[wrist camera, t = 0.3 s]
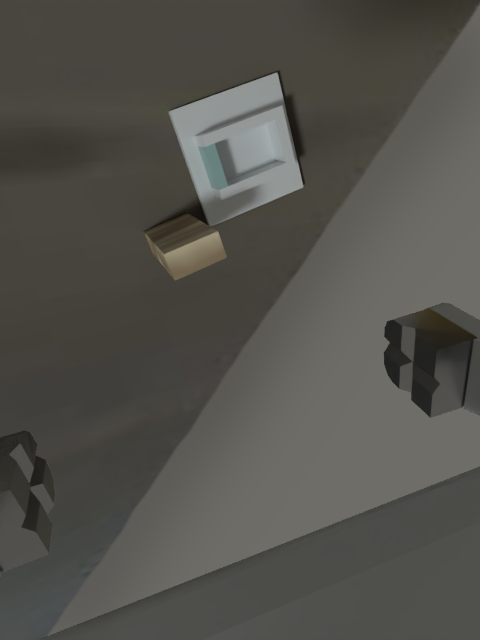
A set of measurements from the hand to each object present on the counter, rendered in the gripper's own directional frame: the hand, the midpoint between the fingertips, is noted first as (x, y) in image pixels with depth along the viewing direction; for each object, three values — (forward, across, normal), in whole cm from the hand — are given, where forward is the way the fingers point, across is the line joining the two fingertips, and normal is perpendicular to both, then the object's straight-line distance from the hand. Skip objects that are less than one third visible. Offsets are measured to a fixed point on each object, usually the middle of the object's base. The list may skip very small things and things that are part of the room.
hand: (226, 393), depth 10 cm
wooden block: (+46, -4, +10) cm, 47 cm away
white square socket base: (+47, -15, +2) cm, 50 cm away
